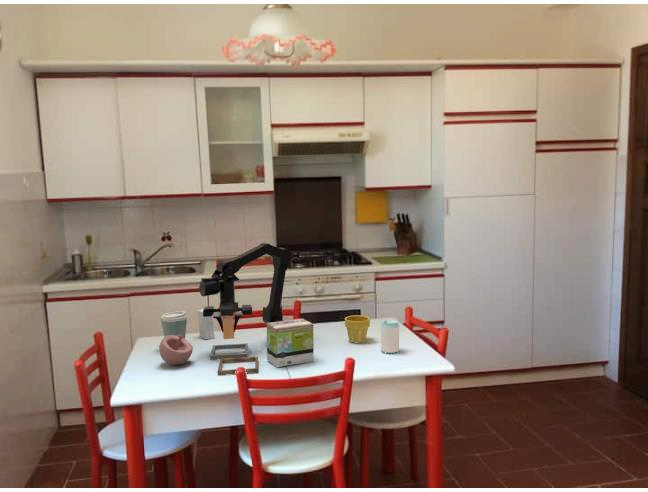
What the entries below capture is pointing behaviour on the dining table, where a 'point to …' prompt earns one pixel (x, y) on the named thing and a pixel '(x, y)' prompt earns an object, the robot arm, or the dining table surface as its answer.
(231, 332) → the plug block
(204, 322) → the skincare box
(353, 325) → the plant pot
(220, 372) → the frame
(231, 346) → the gray square frame
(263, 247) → the robot arm
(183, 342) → the mortar and pestle
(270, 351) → the tea box
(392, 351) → the can
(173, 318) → the disposable coffee cup
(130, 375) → the dining table surface
